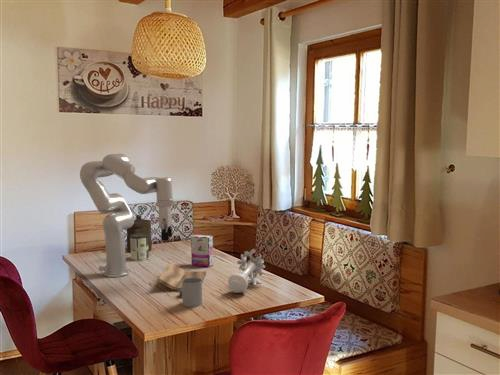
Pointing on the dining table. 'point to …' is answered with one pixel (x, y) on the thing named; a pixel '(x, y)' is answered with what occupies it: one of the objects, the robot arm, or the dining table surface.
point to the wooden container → (139, 231)
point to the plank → (171, 276)
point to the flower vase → (246, 272)
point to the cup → (192, 292)
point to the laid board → (192, 276)
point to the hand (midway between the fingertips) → (166, 238)
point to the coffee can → (139, 247)
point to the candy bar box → (202, 250)
